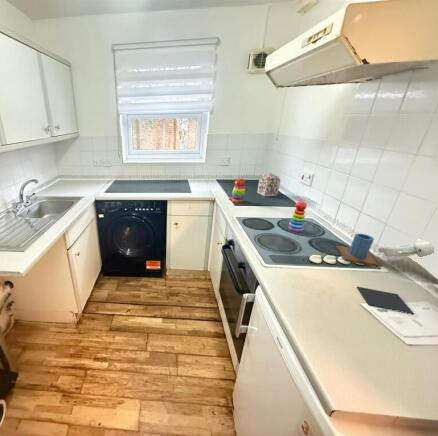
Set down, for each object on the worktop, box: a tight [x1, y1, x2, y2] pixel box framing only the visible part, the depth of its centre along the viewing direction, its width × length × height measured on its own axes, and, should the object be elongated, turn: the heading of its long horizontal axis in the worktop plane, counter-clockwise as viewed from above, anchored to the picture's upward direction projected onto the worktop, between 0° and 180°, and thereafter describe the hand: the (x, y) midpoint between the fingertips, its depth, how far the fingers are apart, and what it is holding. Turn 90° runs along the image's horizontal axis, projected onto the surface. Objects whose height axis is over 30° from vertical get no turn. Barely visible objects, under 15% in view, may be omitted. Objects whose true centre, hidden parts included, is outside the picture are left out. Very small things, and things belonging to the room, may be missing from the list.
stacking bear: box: [228, 177, 246, 204], centre depth 182 cm, size 11×10×18 cm
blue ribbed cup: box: [349, 233, 375, 258], centre depth 105 cm, size 6×6×9 cm
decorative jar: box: [256, 172, 281, 198], centre depth 197 cm, size 12×12×18 cm
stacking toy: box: [287, 200, 308, 233], centre depth 130 cm, size 8×8×19 cm
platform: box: [334, 244, 383, 268], centre depth 107 cm, size 13×13×7 cm
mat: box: [356, 286, 415, 315], centre depth 84 cm, size 12×10×1 cm
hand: (388, 248), depth 106 cm, fingers open, 8 cm apart
